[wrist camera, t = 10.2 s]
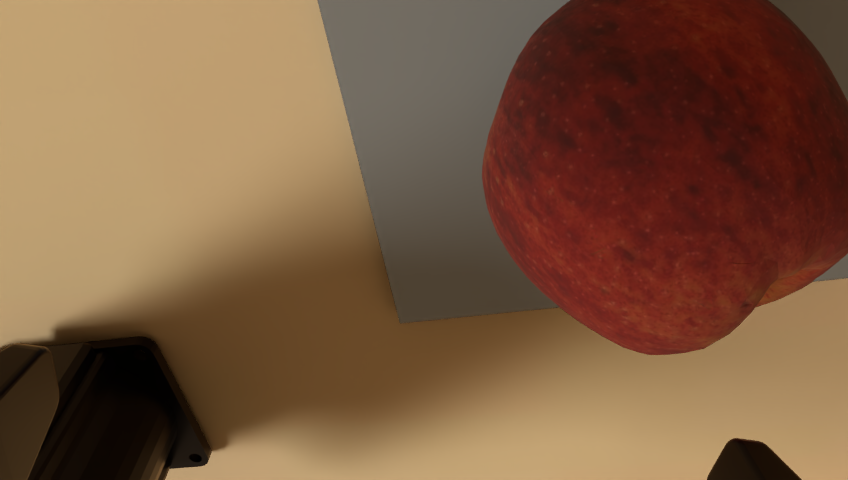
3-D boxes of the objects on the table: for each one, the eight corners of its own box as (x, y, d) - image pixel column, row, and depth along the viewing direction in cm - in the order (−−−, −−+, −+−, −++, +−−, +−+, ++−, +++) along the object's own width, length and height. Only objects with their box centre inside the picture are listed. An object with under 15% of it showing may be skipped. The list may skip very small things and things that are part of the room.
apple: (557, 256, 21) (597, 481, 15) (419, 39, 18) (391, 208, 11) (810, 143, 19) (993, 352, 12) (709, -135, 15) (890, -50, 9)
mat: (848, 265, 22) (857, 277, 21) (401, 311, 24) (400, 323, 23) (958, -299, 14) (976, -301, 14) (282, -162, 16) (277, -159, 16)
